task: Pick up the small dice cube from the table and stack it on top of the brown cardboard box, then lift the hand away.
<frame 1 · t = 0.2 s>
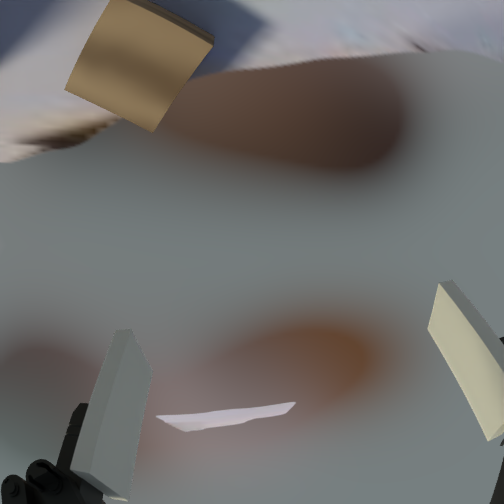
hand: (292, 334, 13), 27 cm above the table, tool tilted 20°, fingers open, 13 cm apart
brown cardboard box: (146, 51, 27), on the table
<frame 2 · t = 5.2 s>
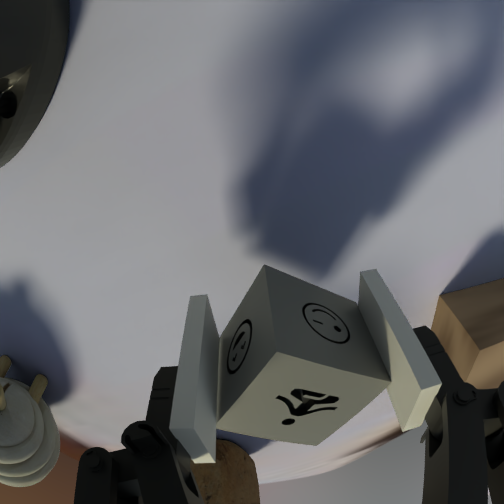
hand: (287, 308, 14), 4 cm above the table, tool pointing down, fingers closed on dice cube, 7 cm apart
cream beehive honey pot: (31, 386, 24), on the table
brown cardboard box: (472, 329, 22), on the table
brown oblong lump: (200, 451, 29), on the table
dice cube: (285, 321, 15), point 3 cm above the table, touching gripper
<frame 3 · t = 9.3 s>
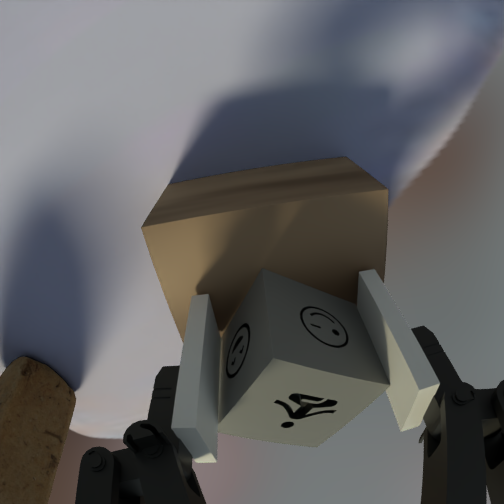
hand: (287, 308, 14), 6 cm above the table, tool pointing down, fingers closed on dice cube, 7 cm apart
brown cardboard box: (269, 245, 20), on the table, touching dice cube
brown oblong lump: (37, 379, 26), on the table
dice cube: (284, 323, 15), point 5 cm above the table, touching gripper, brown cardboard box
when the fingers open (6 cm above the table, at t = 9.6 s): dice cube moves 1 cm, resting on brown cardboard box.
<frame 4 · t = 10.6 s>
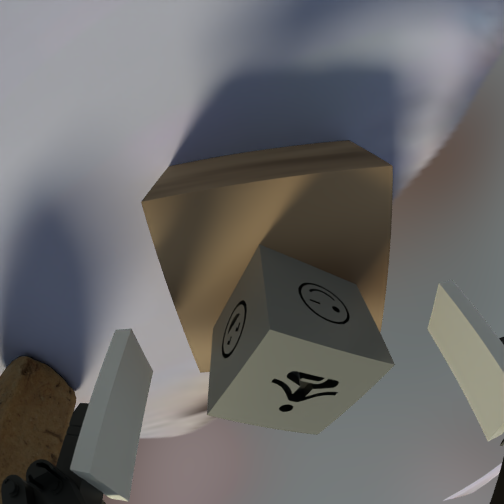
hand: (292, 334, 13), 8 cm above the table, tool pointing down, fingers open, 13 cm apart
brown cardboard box: (270, 230, 19), on the table, touching dice cube
brown oblong lump: (38, 379, 26), on the table
dice cube: (283, 304, 15), point 5 cm above the table, touching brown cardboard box
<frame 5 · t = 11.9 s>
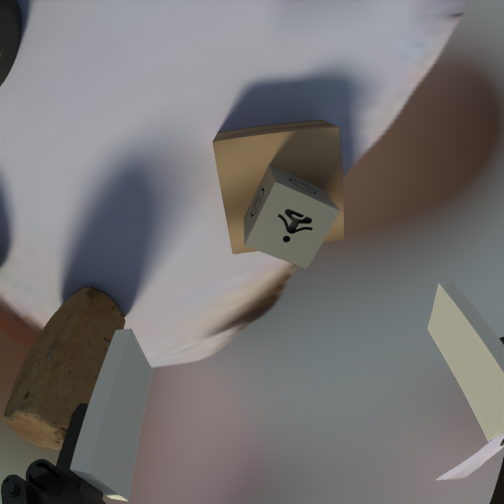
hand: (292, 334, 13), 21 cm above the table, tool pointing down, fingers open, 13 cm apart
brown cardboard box: (276, 174, 31), on the table, touching dice cube
brown oblong lump: (91, 311, 39), on the table
dice cube: (283, 202, 27), point 5 cm above the table, touching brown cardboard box
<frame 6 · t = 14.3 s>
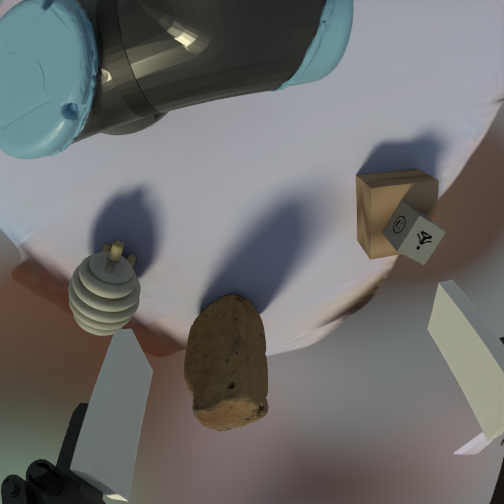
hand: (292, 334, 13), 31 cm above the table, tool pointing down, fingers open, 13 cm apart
cream beehive honey pot: (118, 269, 47), on the table
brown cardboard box: (387, 203, 44), on the table, touching dice cube
brown oblong lump: (226, 313, 52), on the table
dice cube: (404, 223, 39), point 5 cm above the table, touching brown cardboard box
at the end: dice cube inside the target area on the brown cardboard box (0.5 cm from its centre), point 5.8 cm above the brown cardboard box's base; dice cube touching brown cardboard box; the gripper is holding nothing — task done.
